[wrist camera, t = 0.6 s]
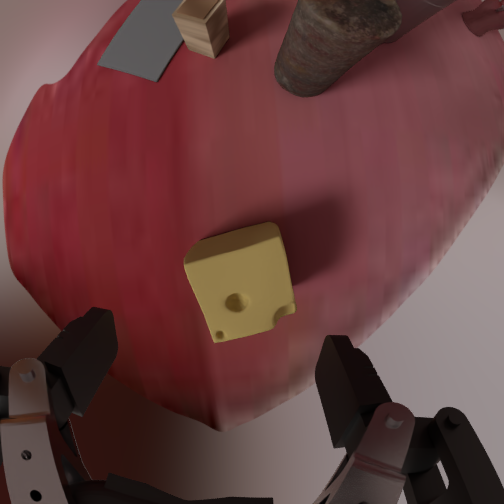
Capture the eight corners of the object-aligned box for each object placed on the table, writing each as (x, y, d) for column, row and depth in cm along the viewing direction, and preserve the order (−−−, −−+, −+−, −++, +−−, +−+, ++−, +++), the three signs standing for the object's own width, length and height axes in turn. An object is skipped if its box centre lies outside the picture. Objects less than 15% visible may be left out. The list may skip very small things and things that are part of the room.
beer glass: (467, 32, 25) (514, 14, 10) (455, 6, 23) (498, -16, 8) (486, 42, 25) (532, 28, 10) (476, 16, 23) (517, -1, 8)
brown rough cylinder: (321, 108, 31) (401, 53, 12) (266, 92, 30) (292, 10, 11) (332, 61, 29) (403, -13, 10) (280, 45, 28) (311, -50, 9)
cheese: (290, 287, 38) (305, 325, 28) (217, 306, 39) (209, 348, 29) (272, 215, 35) (283, 233, 25) (193, 237, 36) (175, 262, 26)
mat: (162, -22, 23) (161, -23, 23) (222, -10, 25) (222, -11, 24) (98, 65, 27) (97, 64, 27) (157, 82, 29) (156, 81, 29)
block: (203, 28, 27) (191, -11, 17) (229, 37, 28) (225, -3, 18) (188, 49, 28) (171, 13, 18) (214, 58, 29) (205, 22, 19)
